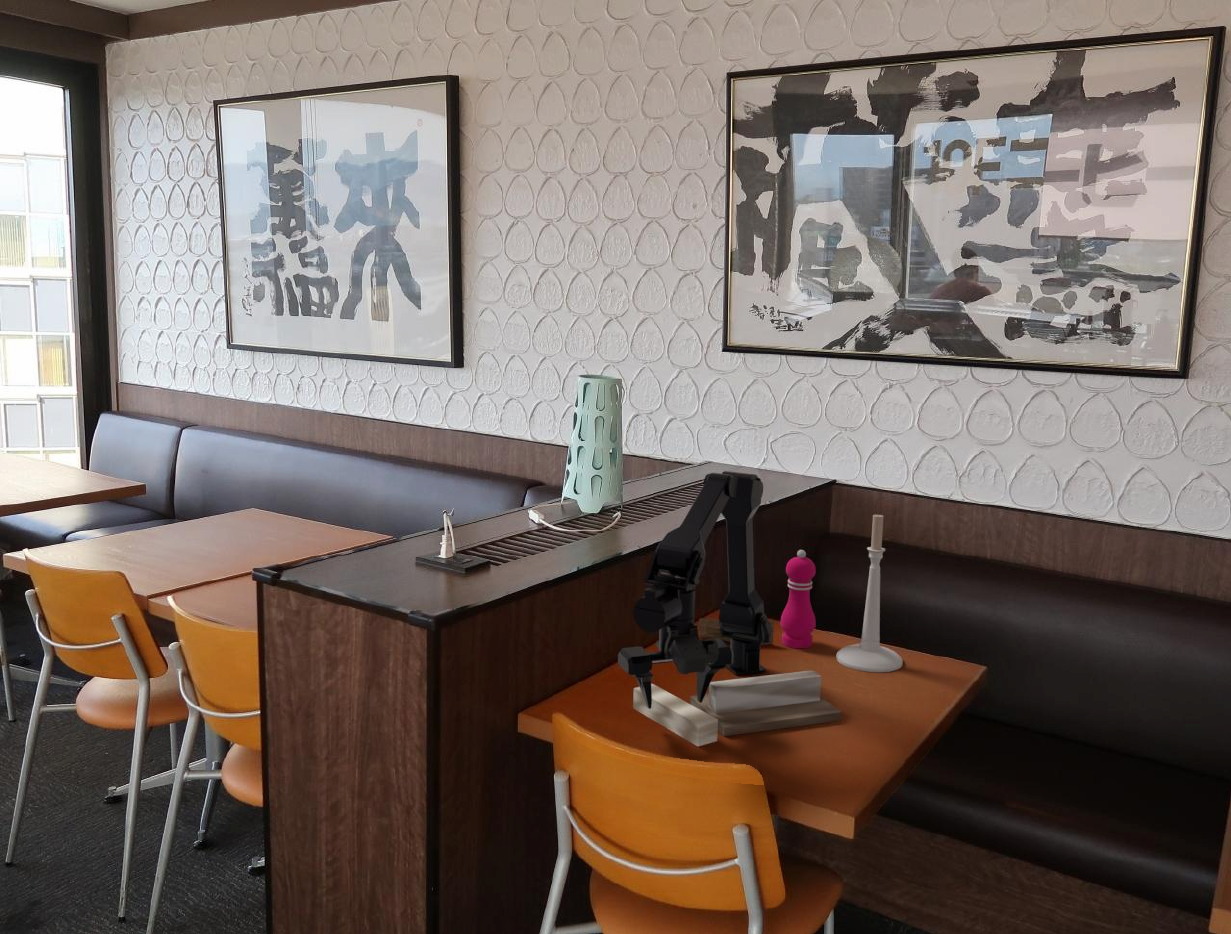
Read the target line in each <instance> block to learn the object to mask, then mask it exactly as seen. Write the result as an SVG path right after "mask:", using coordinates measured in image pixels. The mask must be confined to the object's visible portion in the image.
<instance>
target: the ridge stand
mask: <svg viewBox="0 0 1231 934" xmlns="http://www.w3.org/2000/svg"><path fill="white" fill-rule="evenodd" d="M821 684H822V676H821V675H820V674H819V673H817V672H816V671H815V670H812V669H811V670H803V671H794V672H785V673H777V674H770V675H760V676H752V677H745V678H744V677H743V678H734V679H725V680H717V681H711V682H710V684H709V687H708V693H706V694H705V696H704V699H703V701H702V702H699V701H698V700H697V694H695V695H690V697H689V704H691V705H692V706H694V707H696V708H698V709H700V710H702V711H703V712H705V713H707V714H709V715H711V716H713V717H714V718H716V719H718V732H719V733H720V735H721V736H722V737H729V736H738V735H744V734H752V733H758V732H765V731H773V730H781V729H788V728H795V727H802V726H809V725H810V726H811V725H817V724H823V723H824V724H825V723H832V722H838V721H842V711H841V710H840V709H838V708H837V707H836V706H834V705H833V704H831V703H830V702H829V701H827V700H825V699H824V698H823V697H821V686H822V685H821Z"/></svg>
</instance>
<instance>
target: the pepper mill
mask: <svg viewBox="0 0 1231 934" xmlns="http://www.w3.org/2000/svg"><path fill="white" fill-rule="evenodd" d="M796 555H797V556H796V557H795V556H794V557H792V558H791V559H789V561H788V562H787V564H786V566H785V573H786V575H787V577H788V579H787V587H788V588H789V590H788V591H789V595H788V600H787V603H786V605H785V607H784V609H783V611H782V613H781V617H780V624H779V625H780V627H781V629H782V630H783V631H784V632H782V634H781V643H782V644H783V646H785V645H786V647H788V648H793V649H807V648H810V647H812V646H813V638H814V637H813V635H812V633H813V632H814V631H815V629H816V626H817V625H816V623H817V622H816V616H815V613H814V611H813V608H812V605H811V598H810V597H811V596H810V594H811V593H810V592H811V589H813V581H812V579H813V578H814V577H815V575H816V572H817V571H816V565H815V563H814V562H813V561H812V560H811V559H810V558H808V557H806V555H807V553H806V551H805V550H803V549H799V550H797V553H796Z"/></svg>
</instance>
